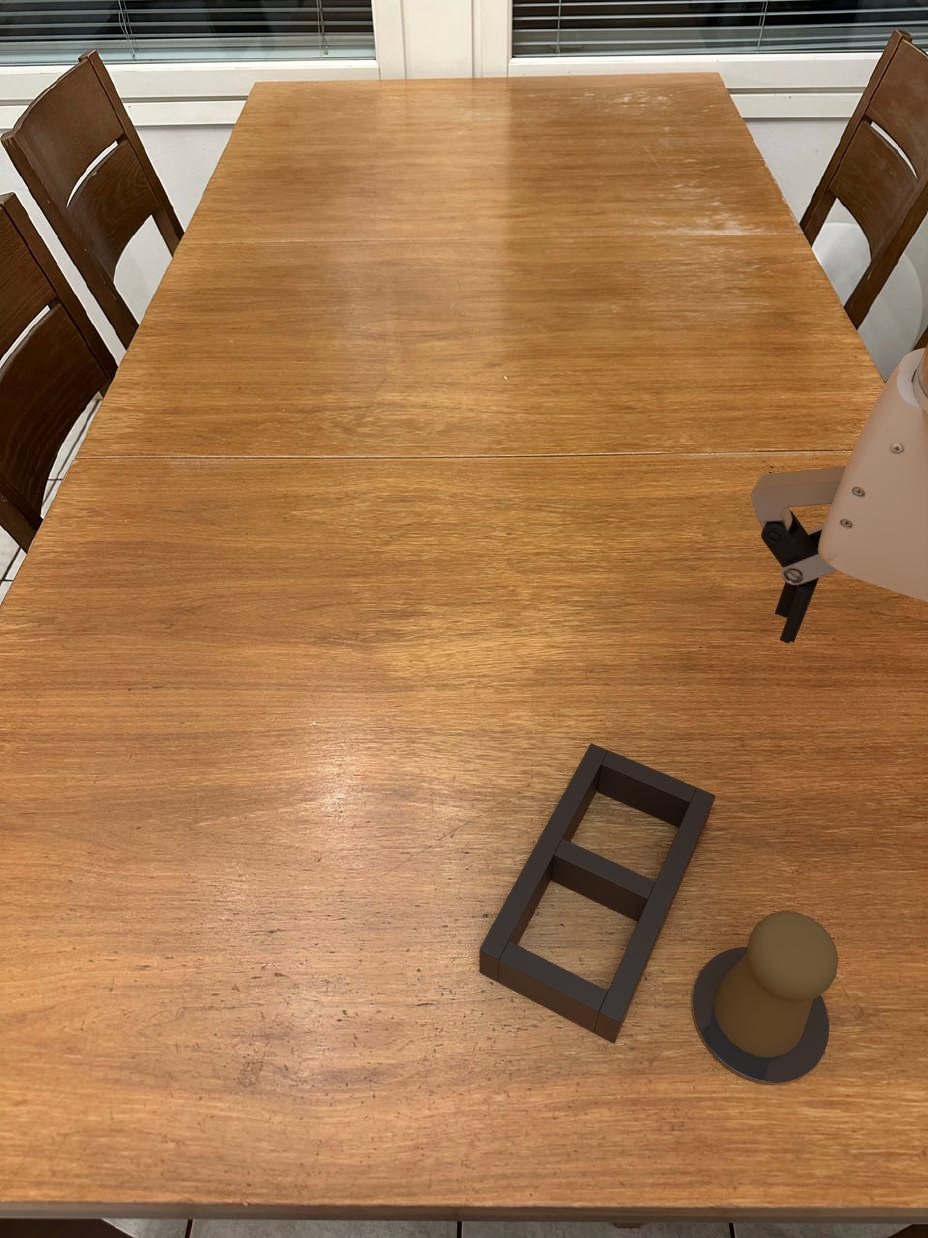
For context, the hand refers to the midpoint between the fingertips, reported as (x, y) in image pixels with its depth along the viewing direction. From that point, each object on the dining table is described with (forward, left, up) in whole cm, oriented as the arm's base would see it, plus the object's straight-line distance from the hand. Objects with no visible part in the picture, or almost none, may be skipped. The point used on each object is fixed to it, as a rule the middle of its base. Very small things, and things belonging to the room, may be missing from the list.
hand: (886, 657), depth 48 cm
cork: (-2, +8, -28) cm, 29 cm away
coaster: (-2, +8, -28) cm, 29 cm away
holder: (+11, +5, -28) cm, 31 cm away
